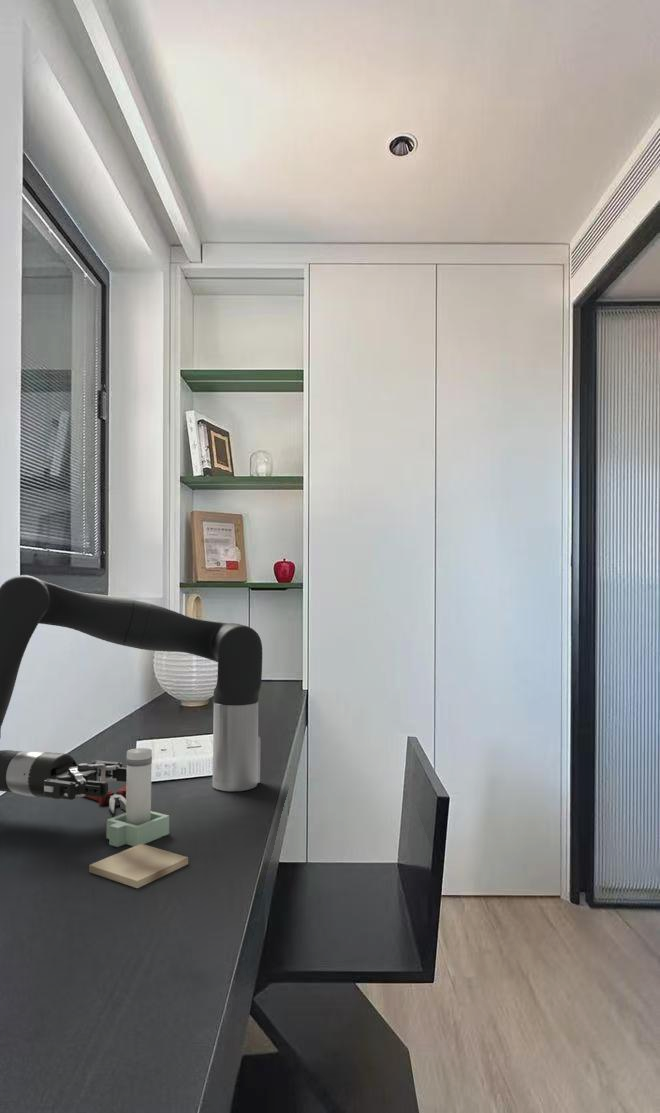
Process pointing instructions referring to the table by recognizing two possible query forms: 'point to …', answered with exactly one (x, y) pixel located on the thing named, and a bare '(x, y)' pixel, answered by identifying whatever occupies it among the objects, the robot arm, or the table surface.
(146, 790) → the thermos bottle
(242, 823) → the table surface
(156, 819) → the collar
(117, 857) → the oak pad
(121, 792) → the pliers
